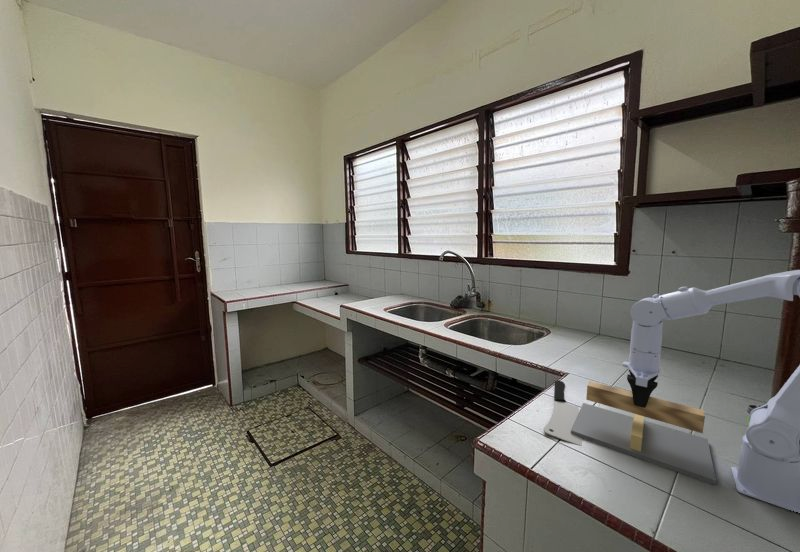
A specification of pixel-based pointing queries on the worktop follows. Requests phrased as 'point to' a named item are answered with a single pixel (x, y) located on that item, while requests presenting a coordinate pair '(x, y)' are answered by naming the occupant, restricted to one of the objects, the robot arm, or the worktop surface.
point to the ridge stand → (646, 441)
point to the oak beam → (647, 407)
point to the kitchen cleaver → (562, 417)
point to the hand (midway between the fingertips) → (640, 402)
